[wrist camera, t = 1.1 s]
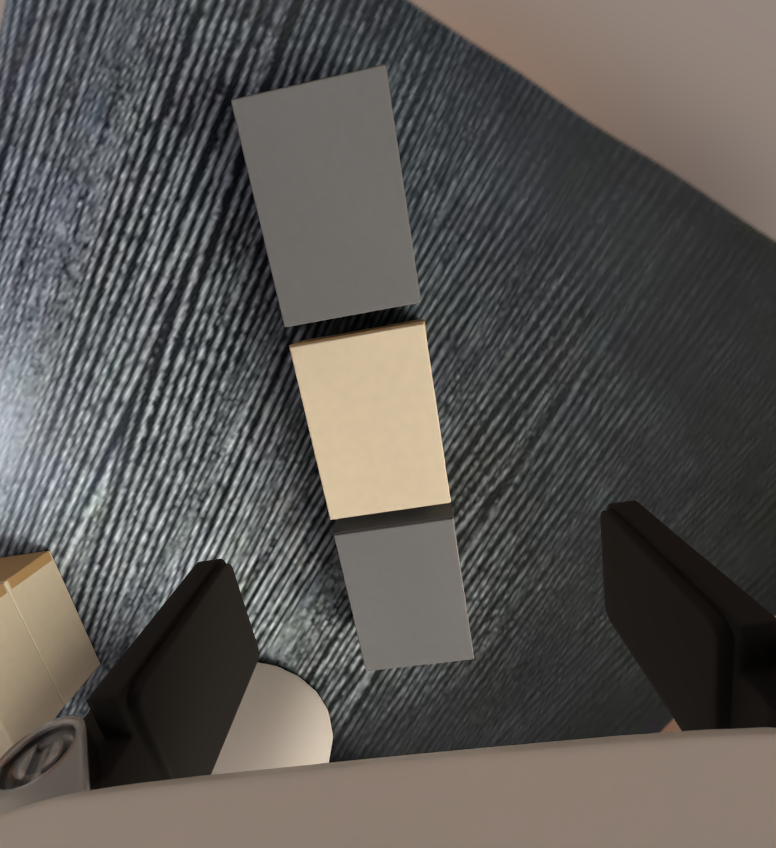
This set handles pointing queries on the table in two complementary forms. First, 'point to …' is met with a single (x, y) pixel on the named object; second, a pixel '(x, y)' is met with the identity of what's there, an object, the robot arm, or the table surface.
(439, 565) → the grey book
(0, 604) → the cream book pile middle
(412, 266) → the grey book
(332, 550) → the table surface
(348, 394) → the cream book
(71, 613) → the beige rectangular block
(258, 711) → the can
